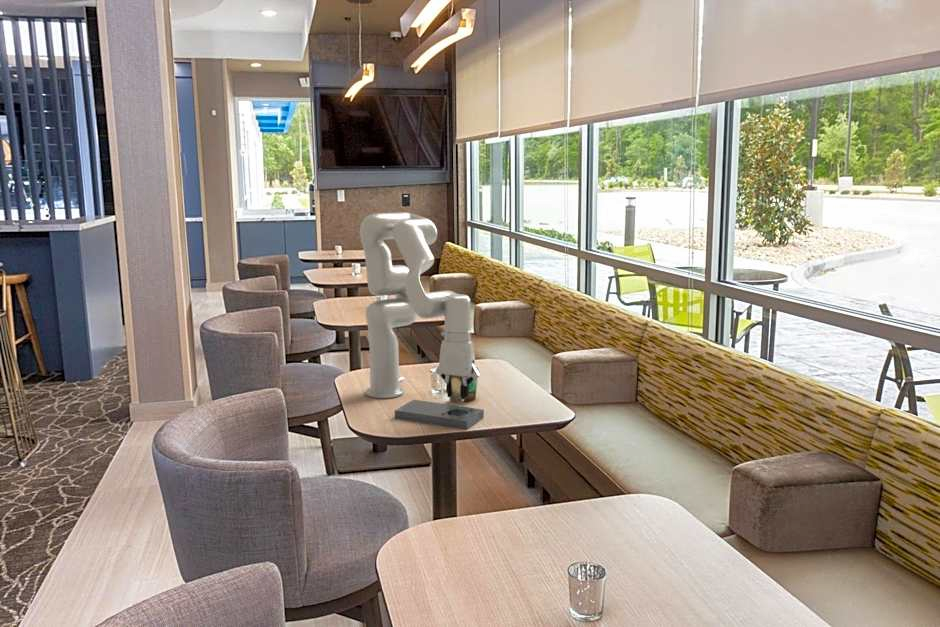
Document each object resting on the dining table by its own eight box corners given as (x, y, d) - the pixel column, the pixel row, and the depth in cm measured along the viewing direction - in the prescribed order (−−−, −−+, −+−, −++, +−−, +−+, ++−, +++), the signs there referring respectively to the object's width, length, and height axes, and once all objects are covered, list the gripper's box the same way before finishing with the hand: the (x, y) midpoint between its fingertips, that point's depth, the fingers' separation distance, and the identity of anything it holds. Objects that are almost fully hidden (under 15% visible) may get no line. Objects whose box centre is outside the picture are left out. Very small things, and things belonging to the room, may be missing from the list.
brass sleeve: (454, 397, 232) (454, 371, 231) (466, 399, 231) (466, 372, 229) (448, 401, 229) (448, 374, 227) (460, 403, 227) (460, 376, 226)
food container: (458, 406, 245) (458, 375, 243) (446, 401, 250) (446, 371, 248) (487, 398, 253) (487, 369, 251) (474, 394, 258) (475, 365, 256)
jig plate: (413, 407, 244) (413, 399, 243) (483, 417, 234) (483, 409, 234) (394, 418, 233) (394, 410, 233) (467, 429, 223) (467, 421, 223)
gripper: (426, 336, 226) (426, 396, 230) (478, 341, 219) (478, 403, 223) (437, 331, 233) (438, 390, 236) (488, 336, 226) (488, 396, 229)
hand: (457, 396), depth 230 cm, fingers closed on brass sleeve, 4 cm apart
